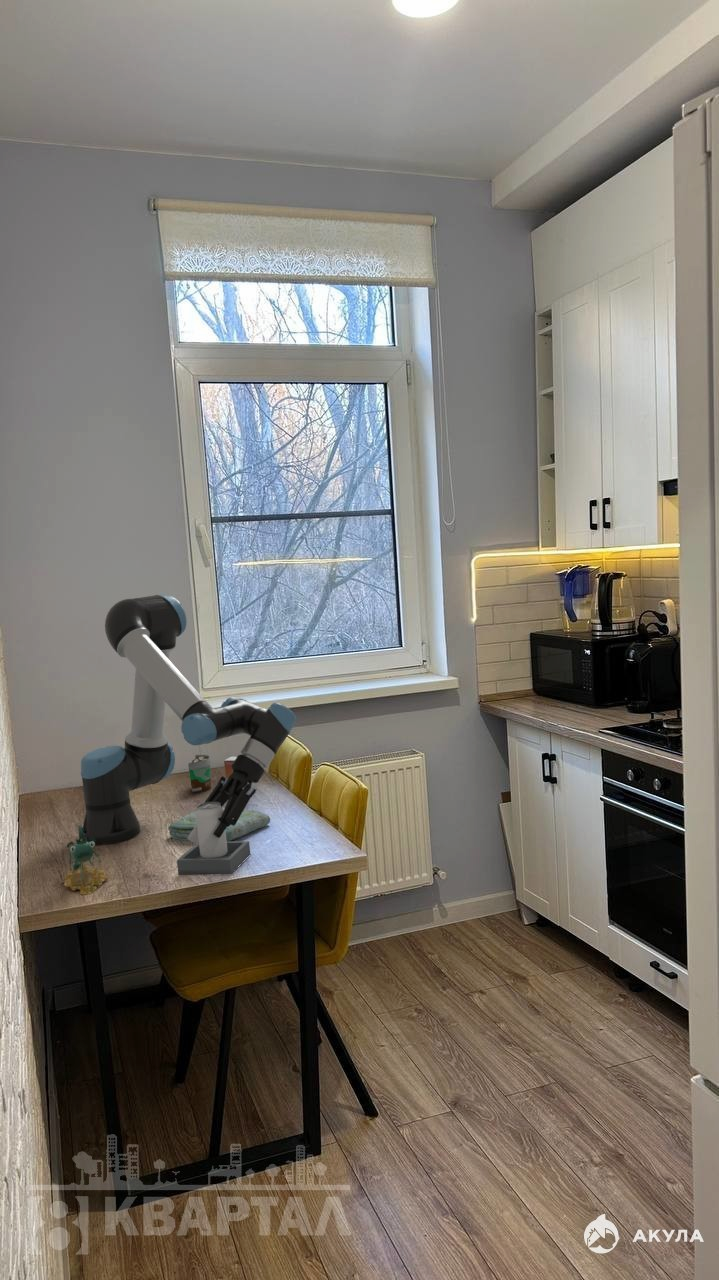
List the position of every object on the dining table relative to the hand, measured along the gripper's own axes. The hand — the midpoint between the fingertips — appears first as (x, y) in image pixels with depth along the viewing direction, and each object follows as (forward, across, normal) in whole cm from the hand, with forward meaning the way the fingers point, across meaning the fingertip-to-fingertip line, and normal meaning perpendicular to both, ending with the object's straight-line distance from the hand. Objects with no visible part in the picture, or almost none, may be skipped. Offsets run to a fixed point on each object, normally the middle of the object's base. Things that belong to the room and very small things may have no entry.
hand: (199, 844), depth 216 cm
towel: (-7, +23, -17) cm, 29 cm away
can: (0, 0, -5) cm, 5 cm away
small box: (-26, +55, -34) cm, 70 cm away
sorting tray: (+2, 0, -7) cm, 7 cm away
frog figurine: (+20, +14, +11) cm, 27 cm away
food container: (-21, +68, -30) cm, 77 cm away
